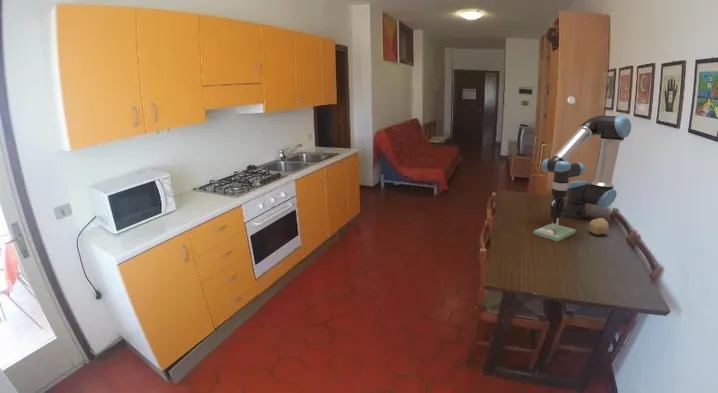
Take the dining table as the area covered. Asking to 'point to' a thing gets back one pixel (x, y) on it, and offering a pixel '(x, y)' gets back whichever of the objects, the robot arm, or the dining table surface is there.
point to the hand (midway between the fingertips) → (554, 228)
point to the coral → (599, 226)
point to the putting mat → (558, 233)
